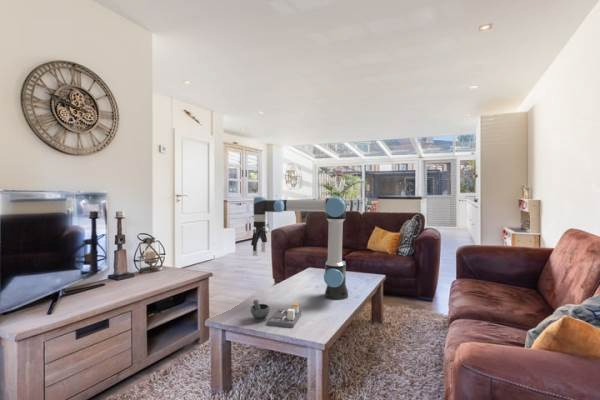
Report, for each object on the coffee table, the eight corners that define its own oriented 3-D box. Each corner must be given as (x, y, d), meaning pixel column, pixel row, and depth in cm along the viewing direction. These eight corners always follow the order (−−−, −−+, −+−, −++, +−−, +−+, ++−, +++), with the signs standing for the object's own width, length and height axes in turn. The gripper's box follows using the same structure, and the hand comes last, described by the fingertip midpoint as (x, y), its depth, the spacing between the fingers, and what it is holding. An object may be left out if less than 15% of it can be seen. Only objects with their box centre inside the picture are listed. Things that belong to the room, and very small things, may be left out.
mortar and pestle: (256, 315, 173) (256, 293, 173) (272, 317, 170) (272, 295, 170) (246, 323, 162) (246, 300, 162) (263, 325, 159) (263, 302, 159)
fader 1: (294, 317, 164) (294, 309, 164) (293, 320, 161) (293, 311, 161) (288, 317, 165) (288, 308, 165) (287, 319, 162) (287, 310, 162)
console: (301, 314, 175) (301, 310, 175) (293, 327, 157) (293, 323, 157) (278, 312, 178) (278, 308, 178) (268, 325, 160) (268, 320, 160)
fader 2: (298, 311, 173) (298, 303, 173) (297, 313, 170) (297, 305, 170) (293, 311, 174) (293, 302, 173) (291, 313, 170) (291, 304, 170)
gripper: (261, 219, 217) (261, 250, 218) (245, 222, 193) (245, 257, 194) (271, 219, 215) (271, 250, 216) (257, 222, 191) (257, 257, 192)
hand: (259, 254), depth 205 cm, fingers open, 13 cm apart
